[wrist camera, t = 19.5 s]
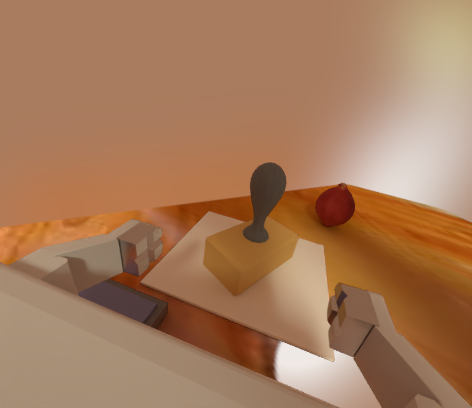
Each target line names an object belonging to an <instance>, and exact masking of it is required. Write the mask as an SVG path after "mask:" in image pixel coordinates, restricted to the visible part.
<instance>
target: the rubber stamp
mask: <svg viewBox="0 0 472 408" xmlns="http://www.w3.org/2000/svg"><path fill="white" fill-rule="evenodd" d="M285 187H286V176H285V173H284V171H283V170H282V168H281V167H280V166H278V165H277V164H275V163H264V164H262V165H260V166H259V167H258V168H257V169H256V170H255V171H254V173H253V175H252V177H251V183H250V190H251V199H252V205H253V210H254V219H251V220H249V221H246V222H244V223H241V224H239V225H236V226H234V227H231V228H229V229H226V230H223V231H221V232H218V233H216V234H213V235H211V236H208V237H207V238H206V241H205V250H204V259H203V265H204V266H205V267H206V268H207V269H208V270H209V271H210V272H211V273H212V274H213V275H214V276H215V277H216V278H217V279H218V280H219V281H220V282H221V283H222V284H223V285H224V286H225V287H226V289H227V290H228V291H229V292H230V293H231V294H232V295H233V296H236V295H239V294H240V293H242V292H243V291H245V290H246V289H248V288H249V287H250V286H252V285H253V284H255V283H256V282H258V281H259V280H260V279H262V278H263V277H265V276H266V275H268V274H269V273H270V272H272V271H273V270H275V269H276V268H278V267H279V266H281V265H282V264H283V263H285V262H286V261H288V260H289V259H291V258H292V256H293V253H294V250H295V247H296V244H297V242H298V239H299V237H298V234H297V233H295V232H294V231H292V230H290V229H289V228H287V227H285V226H284V225H282V224H280V223H279V222H277V221H275V220H274V219H272V218H270V217H269V216H268V215H269V213H270V212H271V210H272V209H273V208H274V207H275V205H276V204H277V203H278V201H279V200H280V199H281V197H282V195H283V193H284V191H285Z"/></svg>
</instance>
